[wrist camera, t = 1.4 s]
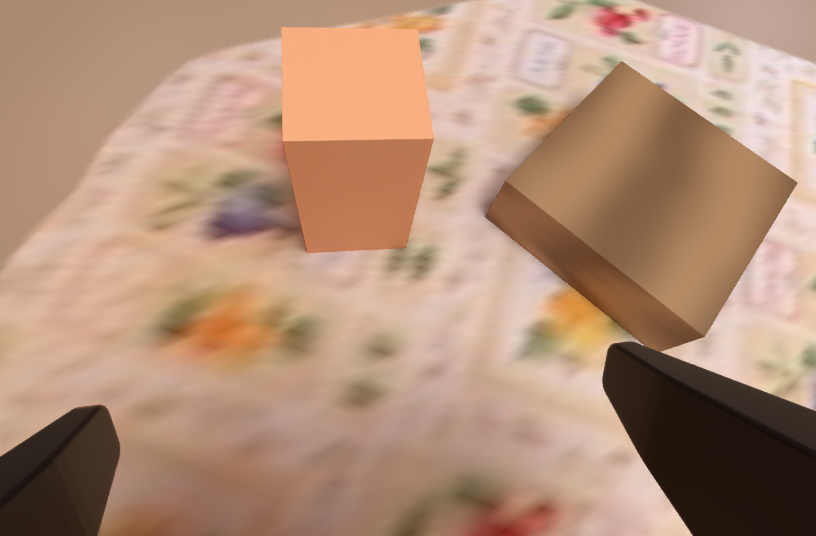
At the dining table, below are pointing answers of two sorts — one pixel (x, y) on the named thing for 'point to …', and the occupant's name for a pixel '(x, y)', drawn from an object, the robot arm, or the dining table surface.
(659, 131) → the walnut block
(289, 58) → the terracotta block
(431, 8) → the dining table surface
